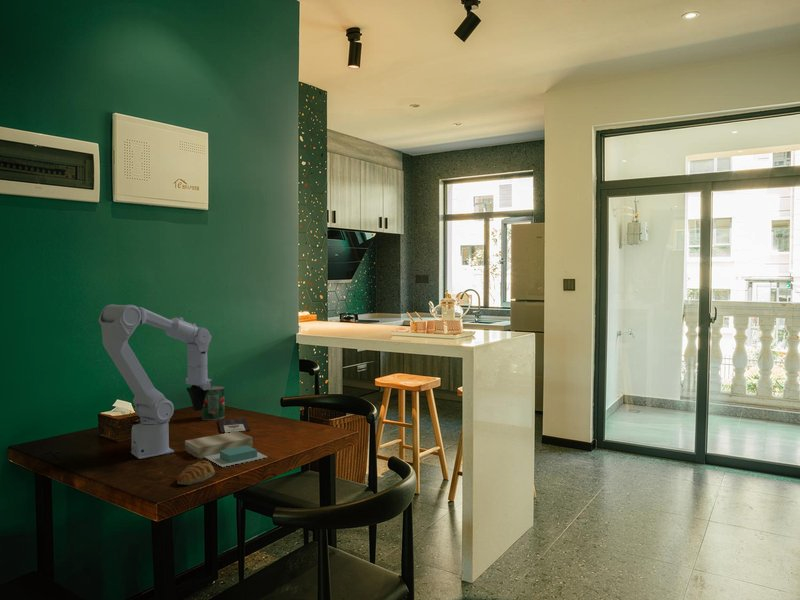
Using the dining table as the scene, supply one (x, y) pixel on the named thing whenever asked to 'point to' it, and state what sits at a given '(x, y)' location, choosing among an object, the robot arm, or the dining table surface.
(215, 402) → the canned tomato
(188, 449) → the beige flat block
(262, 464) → the dining table surface
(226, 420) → the chocolate bar
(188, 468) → the pastry
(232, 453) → the tile
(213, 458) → the mat
